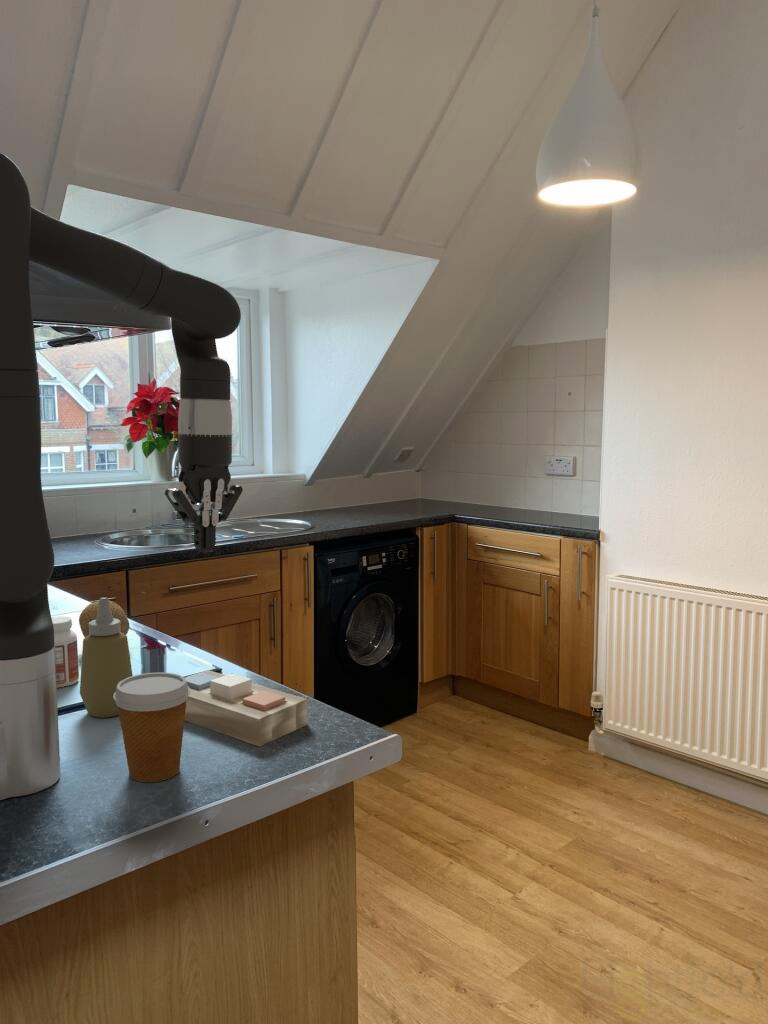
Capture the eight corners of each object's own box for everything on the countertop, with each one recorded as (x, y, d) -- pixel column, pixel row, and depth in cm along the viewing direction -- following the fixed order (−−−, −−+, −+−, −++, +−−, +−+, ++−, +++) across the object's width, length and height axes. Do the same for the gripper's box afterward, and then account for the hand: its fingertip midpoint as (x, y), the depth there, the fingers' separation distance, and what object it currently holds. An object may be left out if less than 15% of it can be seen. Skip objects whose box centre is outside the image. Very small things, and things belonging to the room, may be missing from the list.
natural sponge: (120, 641, 166) (118, 592, 165) (137, 651, 159) (135, 601, 158) (74, 649, 161) (72, 598, 160) (89, 660, 154) (87, 608, 153)
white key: (230, 708, 123) (230, 686, 122) (210, 702, 125) (210, 680, 125) (252, 700, 126) (251, 679, 126) (232, 694, 129) (231, 673, 129)
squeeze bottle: (77, 707, 130) (72, 595, 128) (129, 699, 134) (126, 590, 131) (84, 725, 123) (79, 607, 121) (139, 716, 127) (136, 601, 124)
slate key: (199, 706, 127) (198, 685, 127) (180, 700, 130) (180, 679, 129) (220, 698, 131) (220, 677, 130) (202, 692, 133) (201, 672, 133)
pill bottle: (68, 674, 146) (66, 613, 144) (85, 682, 142) (83, 619, 140) (33, 683, 141) (30, 619, 140) (50, 691, 137) (47, 626, 136)
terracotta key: (264, 728, 119) (264, 705, 118) (242, 720, 121) (242, 698, 121) (285, 718, 122) (285, 696, 122) (264, 712, 125) (264, 690, 125)
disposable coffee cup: (149, 796, 101) (146, 701, 99) (100, 775, 106) (97, 685, 105) (207, 768, 109) (205, 680, 107) (159, 750, 114) (156, 666, 113)
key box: (259, 746, 116) (258, 719, 115) (158, 711, 129) (158, 686, 128) (307, 724, 124) (307, 699, 123) (208, 693, 137) (207, 670, 136)
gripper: (185, 432, 111) (185, 560, 113) (257, 432, 121) (256, 549, 123) (150, 430, 115) (151, 553, 117) (222, 430, 126) (222, 543, 128)
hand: (205, 551), depth 120 cm, fingers closed
